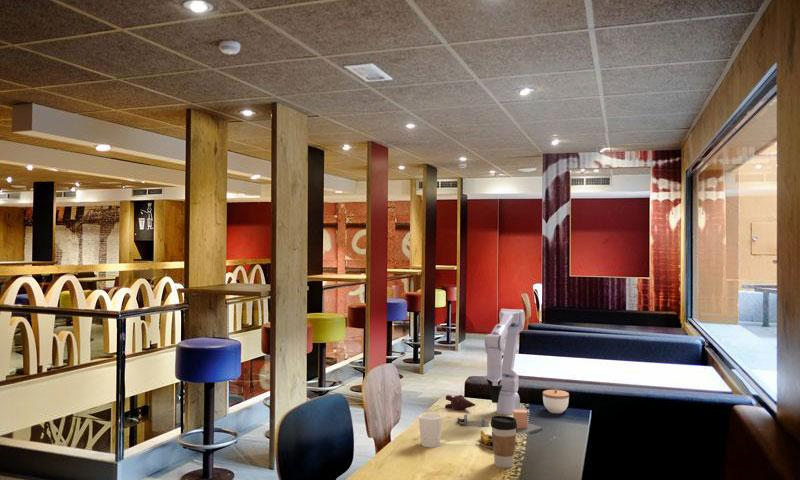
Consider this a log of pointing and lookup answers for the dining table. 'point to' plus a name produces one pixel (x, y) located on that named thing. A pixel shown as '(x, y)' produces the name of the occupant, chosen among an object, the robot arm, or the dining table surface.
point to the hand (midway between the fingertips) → (494, 399)
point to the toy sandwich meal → (486, 440)
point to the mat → (529, 429)
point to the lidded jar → (555, 400)
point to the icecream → (458, 402)
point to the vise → (473, 422)
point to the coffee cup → (503, 440)
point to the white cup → (430, 429)
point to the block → (520, 418)
